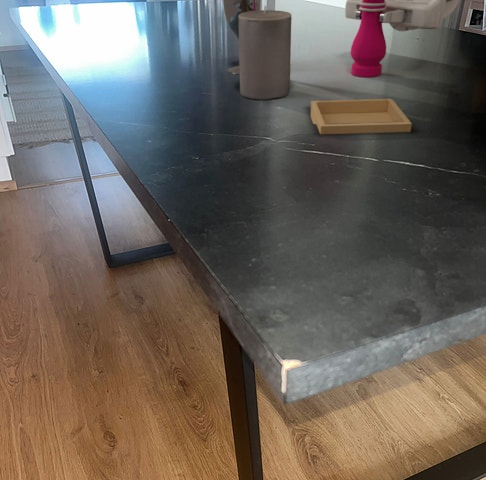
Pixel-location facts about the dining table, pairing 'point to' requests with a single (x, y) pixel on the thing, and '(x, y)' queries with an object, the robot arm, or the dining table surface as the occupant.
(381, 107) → the tray
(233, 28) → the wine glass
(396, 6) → the robot arm
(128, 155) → the dining table surface
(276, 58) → the pillar candle
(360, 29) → the pepper mill
